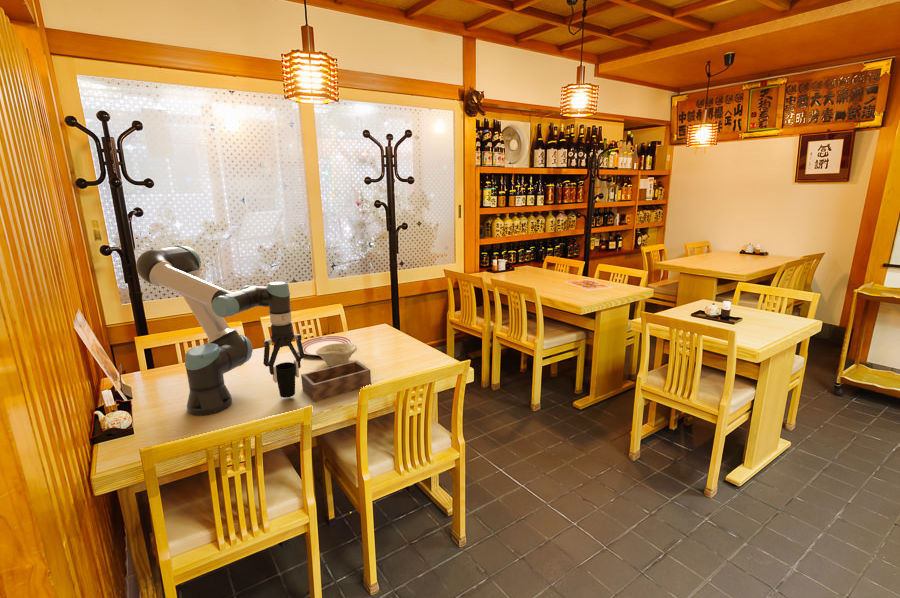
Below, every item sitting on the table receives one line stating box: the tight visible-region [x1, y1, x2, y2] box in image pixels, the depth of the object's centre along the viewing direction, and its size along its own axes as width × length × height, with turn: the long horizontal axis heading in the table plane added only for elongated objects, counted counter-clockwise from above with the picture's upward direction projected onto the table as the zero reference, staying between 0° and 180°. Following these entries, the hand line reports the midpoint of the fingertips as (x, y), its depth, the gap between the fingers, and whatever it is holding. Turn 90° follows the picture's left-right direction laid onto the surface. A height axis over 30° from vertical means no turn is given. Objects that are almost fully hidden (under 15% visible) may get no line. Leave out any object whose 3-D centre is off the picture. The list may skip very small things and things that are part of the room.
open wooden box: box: [300, 360, 372, 403], centre depth 184 cm, size 24×13×7 cm, turn 127°
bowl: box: [316, 343, 357, 367], centre depth 210 cm, size 14×18×15 cm
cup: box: [275, 361, 296, 399], centre depth 174 cm, size 8×8×12 cm
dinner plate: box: [296, 335, 353, 357], centre depth 230 cm, size 28×27×3 cm
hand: (286, 378), depth 174 cm, fingers closed on cup, 8 cm apart
